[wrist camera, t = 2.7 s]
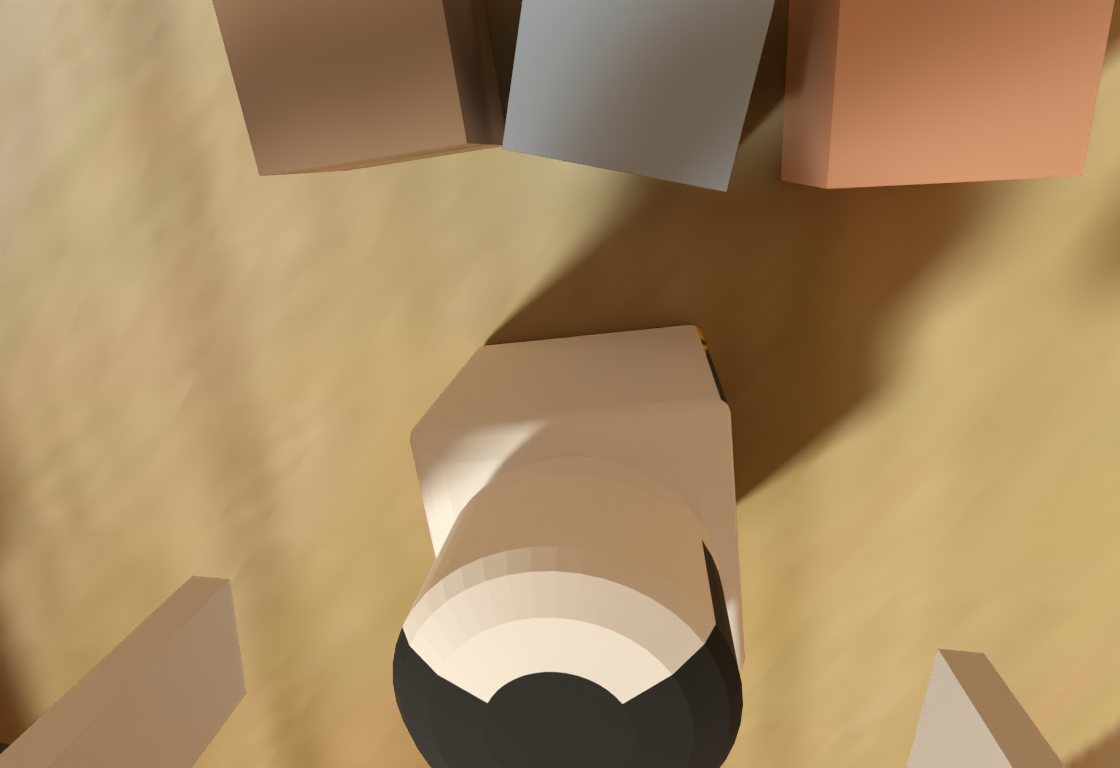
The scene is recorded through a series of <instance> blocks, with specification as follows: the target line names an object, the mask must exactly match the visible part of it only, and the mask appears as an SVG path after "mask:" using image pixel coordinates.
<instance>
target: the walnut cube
mask: <svg viewBox="0 0 1120 768" xmlns="http://www.w3.org/2000/svg"><path fill="white" fill-rule="evenodd" d="M212 1H213V5H214V8H215V12H216V16H217V19H218V23H219V27H220V30H221V34H222V38H223V42H224V45H225V49H226V53H227V56H228V60H229V64H230V67H231V71H232V75H233V78H234V82H235V86H236V90H237V93H238V97H239V101H240V104H241V108H242V112H243V115H244V119H245V123H246V127H247V130H248V134H249V138H250V141H251V145H252V149H253V152H254V156H255V160H256V163H257V167H258V171H259V175H260V176H266V175H283V174H299V173H315V172H331V171H347V170H353V169H360V168H366V167H373V166H379V165H385V164H392V163H398V162H405V161H411V160H418V159H424V158H431V157H437V156H443V155H450V154H456V153H463V152H469V151H476V150H482V149H489V148H495V147H501V146H502V145H503V138H504V131H505V124H504V117H503V111H502V105H501V98H500V92H499V85H498V79H497V73H496V66H495V60H494V53H493V47H492V41H491V34H490V28H489V21H488V15H487V9H486V2H485V0H212Z"/></svg>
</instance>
